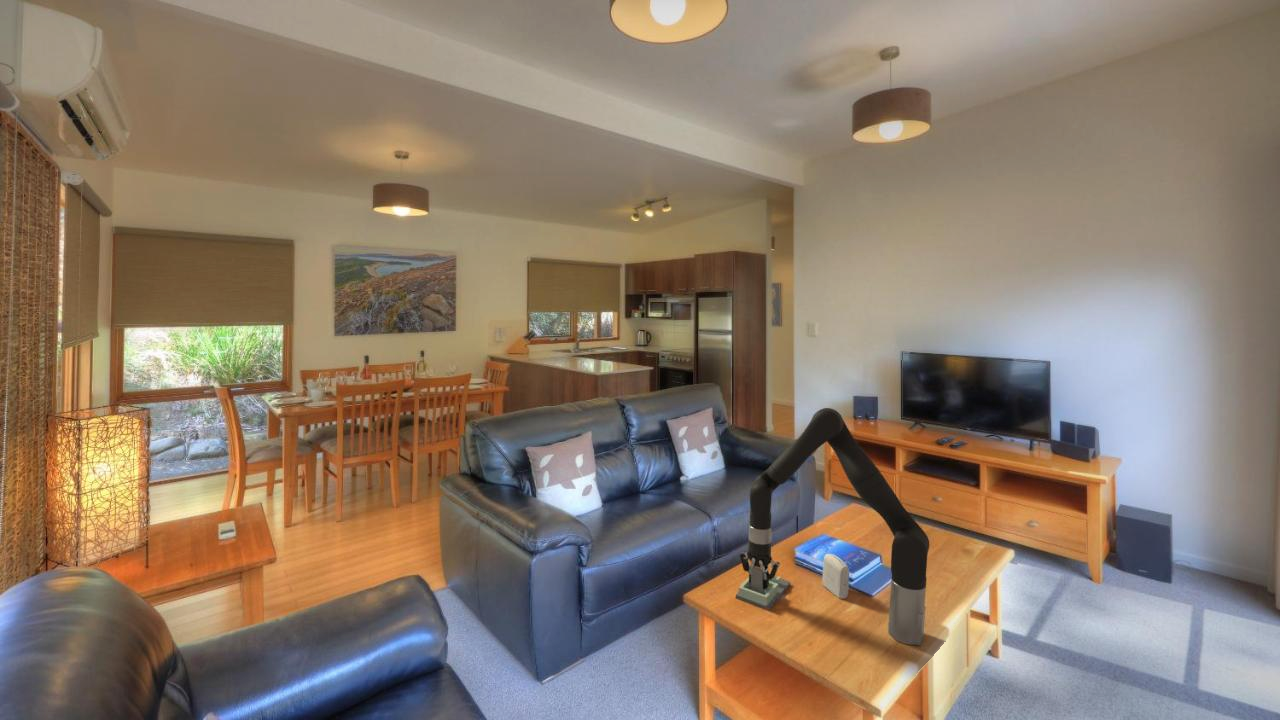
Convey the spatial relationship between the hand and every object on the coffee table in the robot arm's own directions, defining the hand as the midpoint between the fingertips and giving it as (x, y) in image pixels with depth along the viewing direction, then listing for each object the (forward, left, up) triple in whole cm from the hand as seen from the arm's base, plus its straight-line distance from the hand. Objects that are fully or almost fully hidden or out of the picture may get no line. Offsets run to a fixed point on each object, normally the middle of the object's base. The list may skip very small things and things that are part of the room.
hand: (758, 585), depth 175 cm
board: (0, -4, -4) cm, 6 cm away
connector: (0, 0, -1) cm, 1 cm away
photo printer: (-20, -19, -4) cm, 28 cm away
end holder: (0, 0, -3) cm, 3 cm away
